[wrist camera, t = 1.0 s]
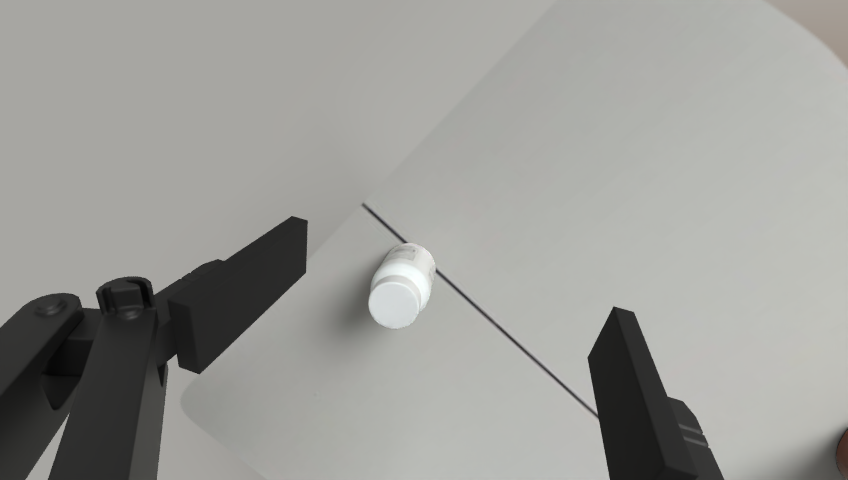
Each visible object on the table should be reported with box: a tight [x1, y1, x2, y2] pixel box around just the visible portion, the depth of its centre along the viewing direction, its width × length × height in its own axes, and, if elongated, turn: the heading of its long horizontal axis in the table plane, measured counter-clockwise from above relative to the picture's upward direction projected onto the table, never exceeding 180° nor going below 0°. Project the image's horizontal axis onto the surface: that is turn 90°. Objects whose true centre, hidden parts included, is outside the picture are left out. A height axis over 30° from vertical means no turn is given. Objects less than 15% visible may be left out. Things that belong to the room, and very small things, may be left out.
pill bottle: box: [368, 243, 435, 329], centre depth 29 cm, size 4×4×8 cm
